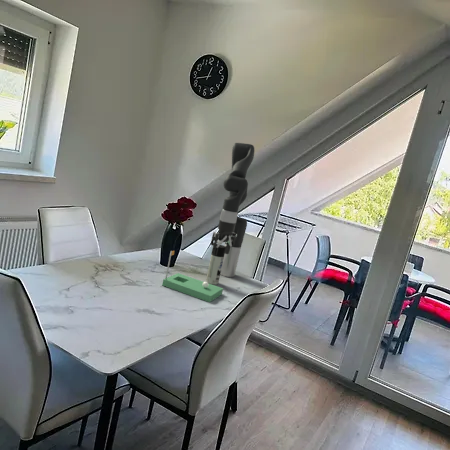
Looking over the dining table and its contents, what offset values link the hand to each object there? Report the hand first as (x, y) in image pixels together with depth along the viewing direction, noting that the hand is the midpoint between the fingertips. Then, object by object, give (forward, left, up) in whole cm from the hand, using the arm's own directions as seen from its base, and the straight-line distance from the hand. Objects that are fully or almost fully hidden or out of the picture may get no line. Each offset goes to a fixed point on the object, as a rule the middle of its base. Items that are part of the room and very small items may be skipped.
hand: (220, 254), depth 195 cm
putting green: (-1, -11, -21) cm, 24 cm away
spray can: (-20, -9, -21) cm, 31 cm away
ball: (-1, -5, -17) cm, 17 cm away
